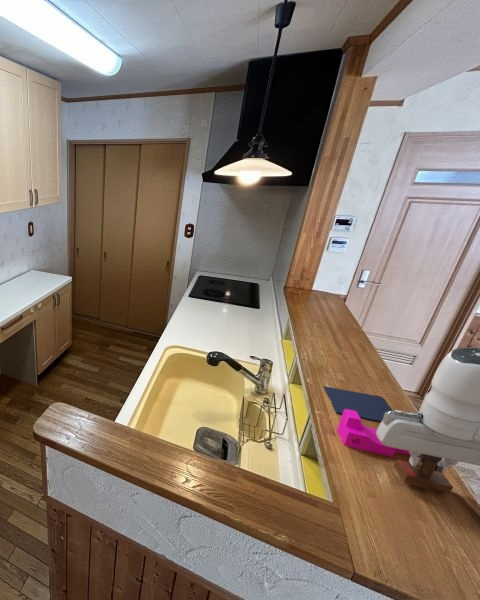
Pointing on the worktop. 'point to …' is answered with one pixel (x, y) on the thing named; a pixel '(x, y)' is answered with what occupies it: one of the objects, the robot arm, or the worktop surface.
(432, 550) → the worktop surface
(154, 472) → the worktop surface
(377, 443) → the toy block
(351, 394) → the ink pad
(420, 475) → the stamp
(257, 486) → the worktop surface
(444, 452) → the robot arm
